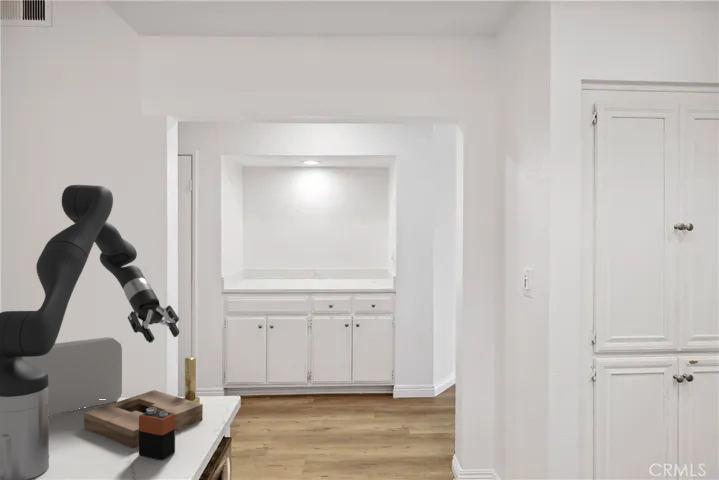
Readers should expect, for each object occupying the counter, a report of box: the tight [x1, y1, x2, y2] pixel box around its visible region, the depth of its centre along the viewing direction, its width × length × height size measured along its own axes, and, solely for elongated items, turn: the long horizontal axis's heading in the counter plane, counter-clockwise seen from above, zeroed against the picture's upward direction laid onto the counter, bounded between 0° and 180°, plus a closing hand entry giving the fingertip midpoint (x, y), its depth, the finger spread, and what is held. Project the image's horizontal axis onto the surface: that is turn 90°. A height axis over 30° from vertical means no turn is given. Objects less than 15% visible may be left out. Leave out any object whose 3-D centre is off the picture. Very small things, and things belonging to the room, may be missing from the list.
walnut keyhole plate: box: [83, 389, 204, 449], centre depth 127 cm, size 20×20×4 cm
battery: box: [138, 408, 176, 461], centre depth 111 cm, size 4×7×10 cm, turn 70°
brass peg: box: [183, 356, 201, 404], centre depth 142 cm, size 5×5×13 cm
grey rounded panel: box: [22, 336, 123, 416], centre depth 137 cm, size 29×8×18 cm, turn 129°
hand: (164, 338), depth 147 cm, fingers open, 8 cm apart
